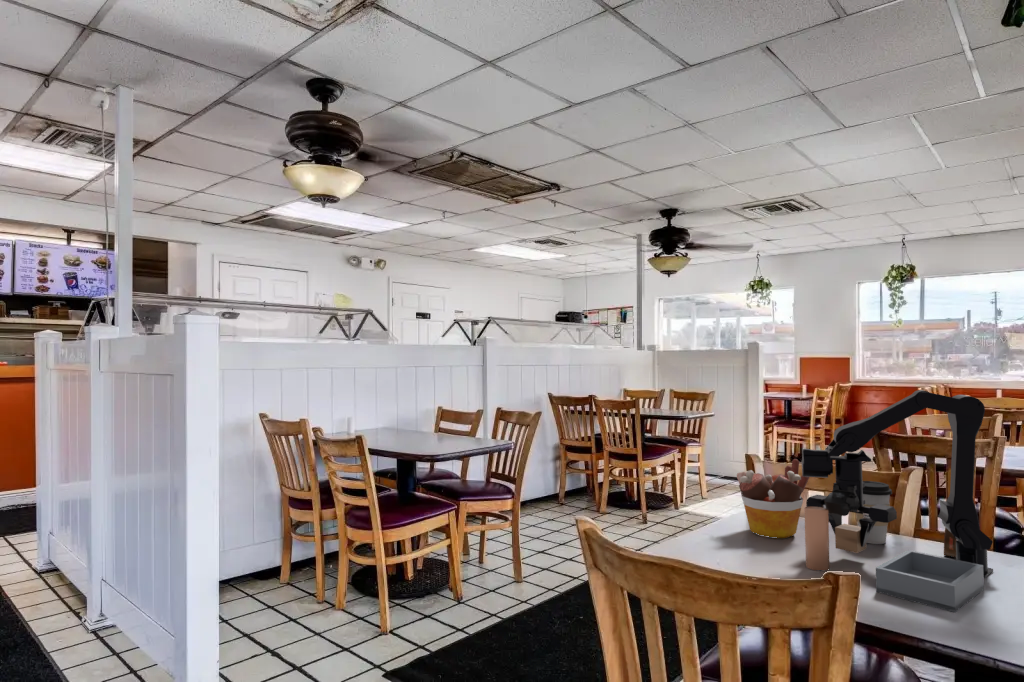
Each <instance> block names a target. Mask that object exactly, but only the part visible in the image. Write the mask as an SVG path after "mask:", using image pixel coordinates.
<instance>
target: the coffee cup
mask: <svg viewBox="0 0 1024 682" xmlns="http://www.w3.org/2000/svg"><path fill="white" fill-rule="evenodd" d="M862 482H863V483H865V487H863V500H865V504H864V505H863V506H866V507H872V506H875V505H877V504H879V505H885V506H891V505H890V497H891V495H893V492H892V489H891V488H890V485H889V484H888V483H884V482H880V481H871V480H862ZM855 516H856V521H857V526H859V527H861V524H860V522H859V519H862V518H863V514H859V513H855ZM888 525H889V523H883V522H876V523H875V525H874V526H873V528H872V530H871V532H870V534H869V536H868V539H867V541H866V544H870V545H871V544H872V545H882V544H885V543H886V541H887V531H888Z"/></svg>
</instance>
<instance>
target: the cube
mask: <svg viewBox="0 0 1024 682" xmlns="http://www.w3.org/2000/svg"><path fill="white" fill-rule="evenodd" d="M860 533H861V527H859V526H858V525H855V524H854V525H852V524H848V523H842V525H840V526H837V527H835V534H834V538H835V539H834V540H835V543H834V544H835V549H838V550H841V551H846V552H851V553H856V554H859V553H861V552H863V551H865V550H867V543H865V546H864V547H861V543H860Z"/></svg>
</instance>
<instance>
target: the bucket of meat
mask: <svg viewBox="0 0 1024 682" xmlns="http://www.w3.org/2000/svg"><path fill="white" fill-rule="evenodd" d="M799 468H800V461H799V460H798V459H797V458H794V459H792V461H791V465H786V466H785V468H784V474H782V473H781V474H774V475H771V474H767V475H765V476H764V474H762V473H759V472H757V473H755V472H754V471H753V470H752V469H750V470H747V471H741V472H738V473H737V474H736V478H737V482H738V484H739V485H738V487H739V491H740V495H741V498H742V502H743V506H744V507H743V508H744V509H745V515H746V518H747V524H748V527H749V530H750V531H751V532H752V533H753V532H754V533H757V534H759V535H764V536H769V537H777V538H776V539H788V538H791V537H793V536H794V535H795V534H797V530H798V525H799V520H800V516H801V511H802V507H803V503H804V499H803V497H802V493H803V492H804V490H805V488H806V485H808V484H807V483H808V481H809V479H810V477H803V476H802V475H799V471H800V469H799ZM754 533H753V534H754ZM759 535H758V536H759ZM790 536H791V537H790ZM787 537H788V538H787Z"/></svg>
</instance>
